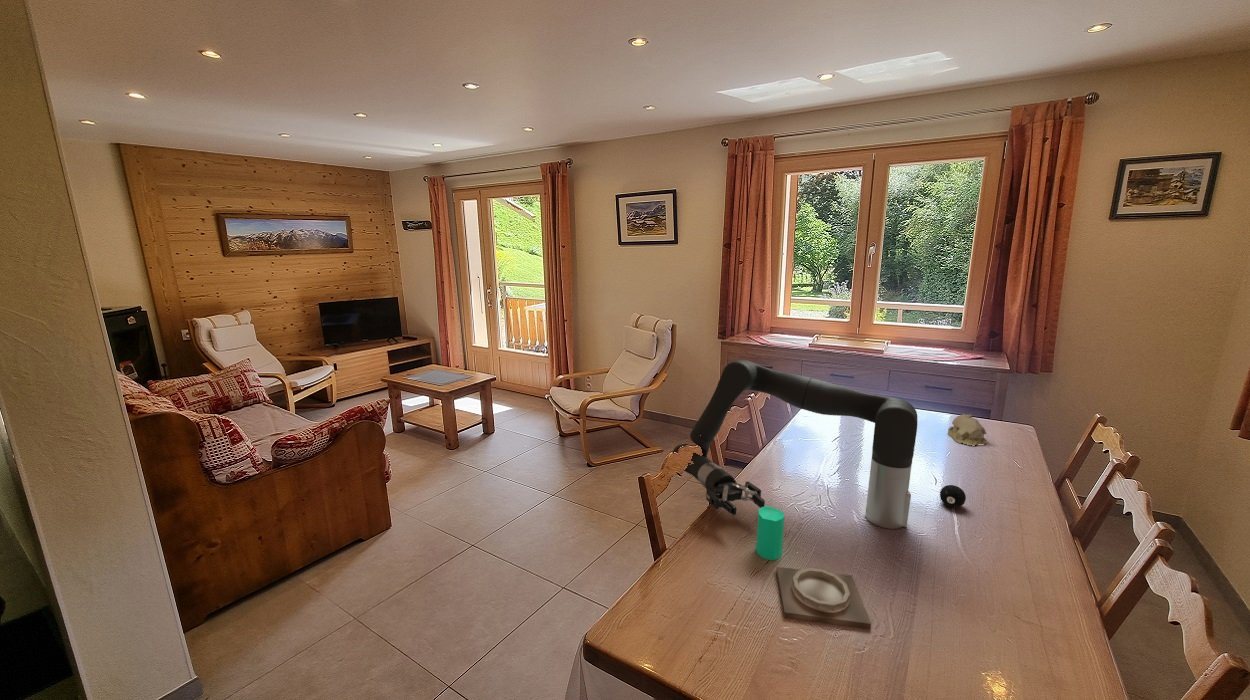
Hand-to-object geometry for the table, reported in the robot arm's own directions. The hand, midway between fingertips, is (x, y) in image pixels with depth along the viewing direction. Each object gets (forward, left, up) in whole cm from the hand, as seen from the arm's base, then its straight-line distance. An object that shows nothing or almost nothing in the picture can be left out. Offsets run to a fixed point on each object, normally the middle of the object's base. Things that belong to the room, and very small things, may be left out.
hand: (749, 508), depth 122 cm
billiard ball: (-57, -24, -7) cm, 63 cm away
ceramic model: (-85, -77, -7) cm, 115 cm away
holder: (-13, +21, -7) cm, 26 cm away
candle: (-4, +7, -7) cm, 11 cm away
